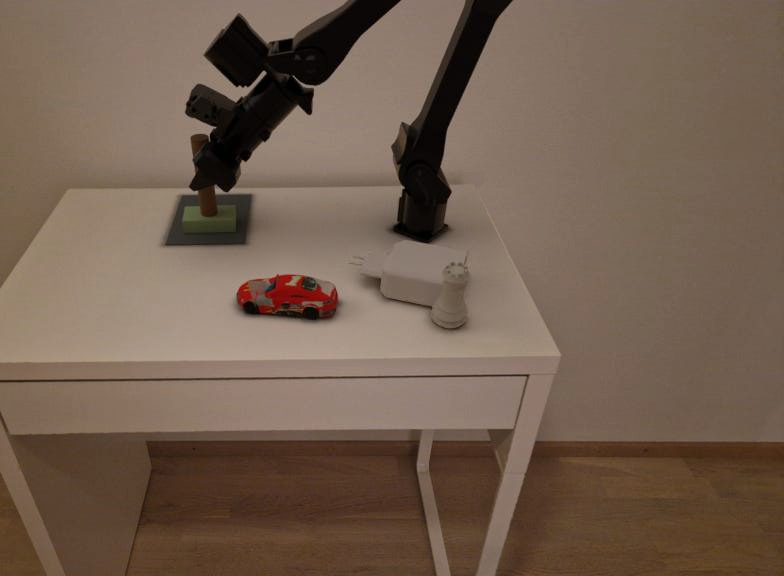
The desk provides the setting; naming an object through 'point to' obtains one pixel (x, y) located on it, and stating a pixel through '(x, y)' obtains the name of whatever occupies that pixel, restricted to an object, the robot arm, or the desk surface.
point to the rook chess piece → (451, 297)
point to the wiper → (207, 205)
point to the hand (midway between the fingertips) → (193, 184)
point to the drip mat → (237, 237)
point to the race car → (288, 296)
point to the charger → (411, 270)
